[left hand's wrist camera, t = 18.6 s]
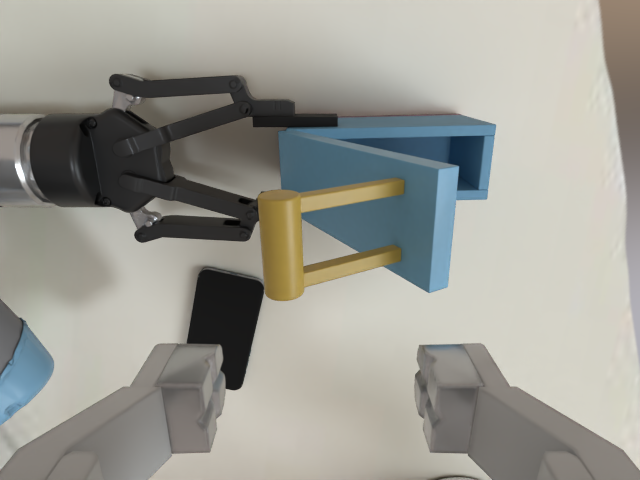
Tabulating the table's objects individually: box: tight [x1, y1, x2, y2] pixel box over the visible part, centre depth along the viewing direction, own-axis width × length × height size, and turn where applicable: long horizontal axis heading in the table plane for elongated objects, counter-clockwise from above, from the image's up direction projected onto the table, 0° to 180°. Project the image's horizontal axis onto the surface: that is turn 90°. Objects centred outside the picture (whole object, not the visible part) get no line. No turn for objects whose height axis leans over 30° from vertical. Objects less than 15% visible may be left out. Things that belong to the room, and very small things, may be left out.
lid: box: [258, 130, 459, 301], centre depth 24 cm, size 16×6×8 cm
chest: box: [286, 114, 496, 200], centre depth 37 cm, size 16×6×9 cm, turn 91°
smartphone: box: [187, 268, 265, 390], centre depth 49 cm, size 7×1×15 cm
